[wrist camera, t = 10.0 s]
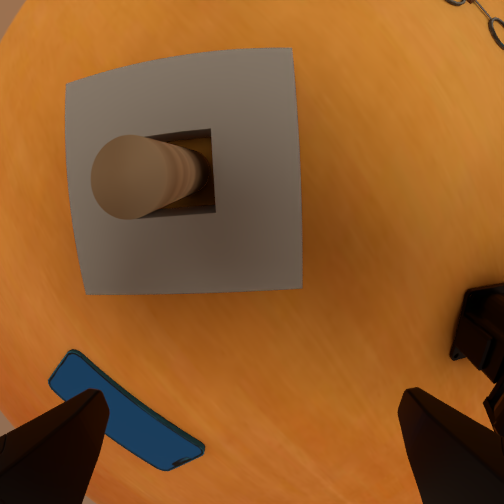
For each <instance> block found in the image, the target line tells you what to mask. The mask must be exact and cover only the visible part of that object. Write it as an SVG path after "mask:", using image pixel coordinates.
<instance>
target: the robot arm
mask: <svg viewBox="0 0 504 504" xmlns="http://www.w3.org/2000/svg"><path fill="white" fill-rule="evenodd" d="M470 295H471V296H470ZM465 357H467V359H468V360H469V361H470V362H471V363H472V364H473V365H474V366H475V367H476V368H477V369H478V370H479V371H480V370H482V372H483V373H484V374H485V375H486V376H487V377H488V378H489V379H490V380H491V381H492V382H493V384H495V383H496V385H495V387H494V388H493V390H492V391H491V393H490V394H489V396H488V397H486V399H485V400H484V402H483V405H484V407H485V409H486V412H487V414H488V417H489V419H490V422H491V424H492V427H493V429H494V431H492V430H490V429H488V428H487V427H485V426H483V425H481V424H480V423H478V422H476V421H474V420H473V419H471V418H469V417H468V416H466V415H464V414H462V413H461V412H459V411H457V410H456V409H454V408H452V407H451V406H449V405H447V404H445V403H444V402H442V401H440V400H439V399H437V398H435V397H434V396H432V395H430V394H429V393H427V392H425V391H424V390H422V389H420V388H418V387H414V388H409V389H406V390H405V391H404V393H403V396H402V399H401V402H400V404H399V407H398V418H399V422H400V426H401V430H402V435H403V439H404V443H405V448H406V452H407V456H408V459H409V462H410V465H411V468H412V471H413V474H414V477H415V480H416V483H417V486H418V489H419V492H420V495H421V499H422V502H423V504H504V283H502V284H497V285H491V286H485V287H480V288H473V289H469V290H468V291H467V292H466V293H465V297H464V301H463V306H462V311H461V315H460V319H459V323H458V327H457V331H456V335H455V339H454V342H453V346H452V349H451V353H450V358H451V359H452V360H453V361H455V360H458V359H462V358H465ZM109 416H110V410H109V407H108V404H107V402H106V399H105V397H104V394H103V392H102V391H101V390H98V389H93V388H89V389H87V390H85V391H83V392H81V393H80V394H78V395H76V396H74V397H73V398H71V399H69V400H67V401H65V402H64V403H62V404H60V405H58V406H56V407H55V408H53V409H51V410H49V411H47V412H46V413H44V414H42V415H40V416H38V417H36V418H35V419H33V420H31V421H29V422H27V423H25V424H24V425H22V426H20V427H18V428H16V429H14V430H12V431H10V432H9V433H7V434H4V435H3V436H1V437H0V504H82V502H83V499H84V496H85V493H86V490H87V487H88V485H89V482H90V479H91V476H92V473H93V471H94V468H95V465H96V462H97V460H98V457H99V454H100V450H101V447H102V443H103V439H104V435H105V431H106V427H107V423H108V420H109Z"/></svg>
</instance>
